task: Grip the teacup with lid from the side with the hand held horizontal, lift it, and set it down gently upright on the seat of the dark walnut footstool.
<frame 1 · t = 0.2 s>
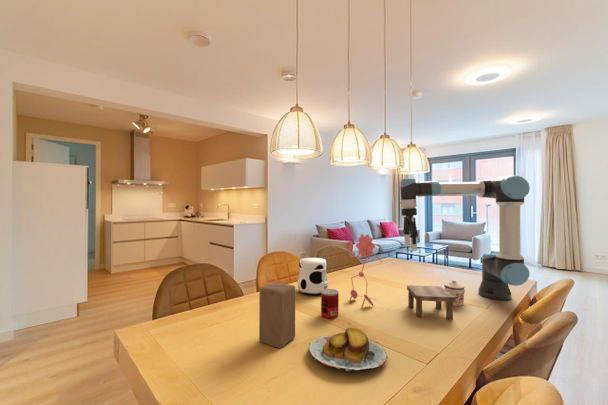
hand: (410, 248, 149), 27 cm above the table, tool pointing down, fingers open, 13 cm apart
figurine: (365, 302, 145), on the table
food on plate: (346, 357, 95), on the table
wooden block: (277, 340, 105), on the table
canned food: (329, 316, 128), on the table
walnut footstool: (429, 312, 133), on the table
milk container: (312, 292, 162), on the table
teacup with lid: (455, 303, 146), on the table
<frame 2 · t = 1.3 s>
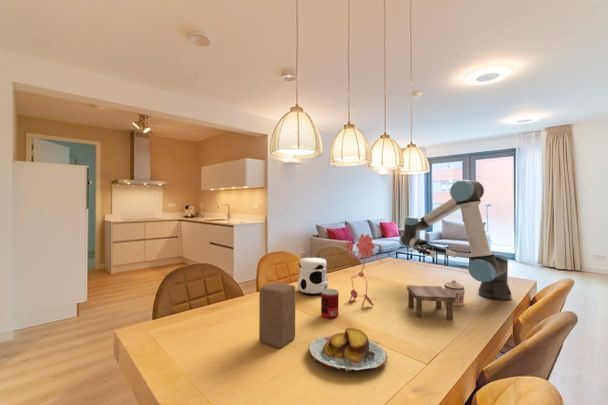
hand: (445, 255, 154), 23 cm above the table, tool horizontal, fingers open, 13 cm apart
nothing on the table moved.
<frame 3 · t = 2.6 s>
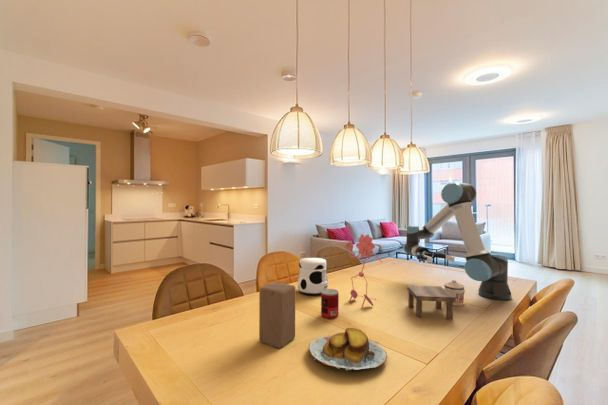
hand: (442, 259, 156), 20 cm above the table, tool horizontal, fingers open, 13 cm apart
nothing on the table moved.
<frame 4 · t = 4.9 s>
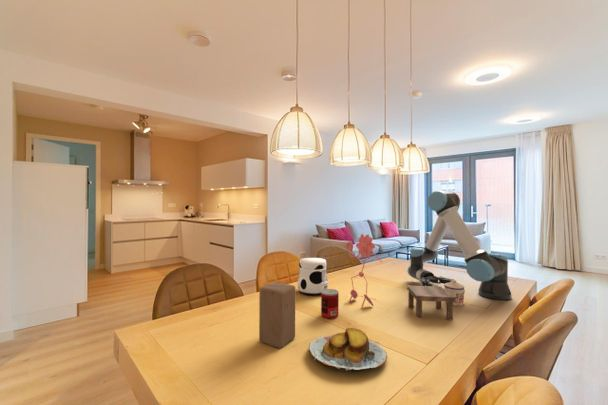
hand: (448, 287, 151), 6 cm above the table, tool horizontal, fingers open, 13 cm apart
nothing on the table moved.
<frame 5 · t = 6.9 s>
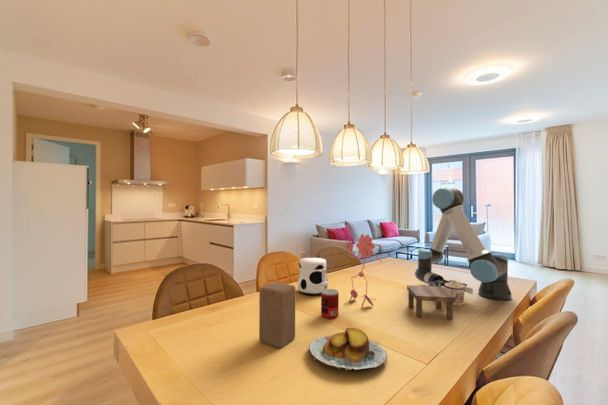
hand: (461, 292, 142), 7 cm above the table, tool horizontal, fingers closed on teacup with lid, 12 cm apart
teacup with lid: (455, 303, 146), on the table, touching gripper
everything else where it was.
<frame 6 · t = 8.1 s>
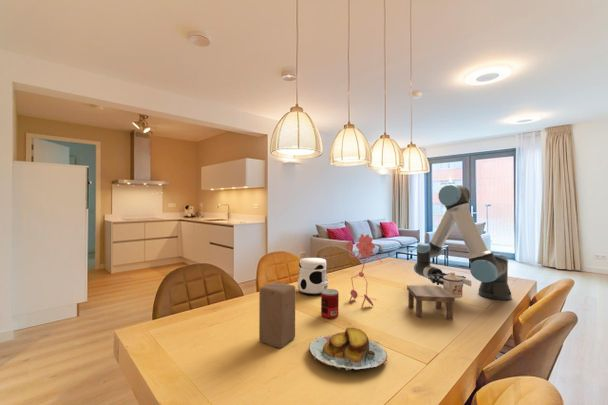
hand: (459, 284, 143), 10 cm above the table, tool horizontal, fingers closed on teacup with lid, 12 cm apart
teacup with lid: (454, 295, 146), point 4 cm above the table, touching gripper
everything else where it was.
when the fingers open (18 cm above the table, at t = 13.2 s): teacup with lid drops 1 cm, resting on walnut footstool.
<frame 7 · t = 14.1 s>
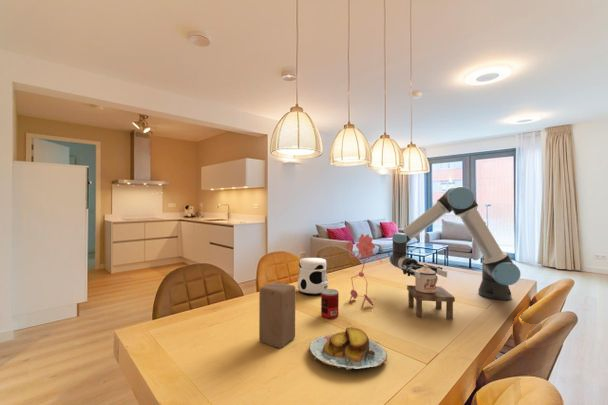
hand: (432, 275, 130), 18 cm above the table, tool horizontal, fingers open, 13 cm apart
teacup with lid: (427, 291, 133), point 10 cm above the table, touching gripper, walnut footstool
everything else where it was.
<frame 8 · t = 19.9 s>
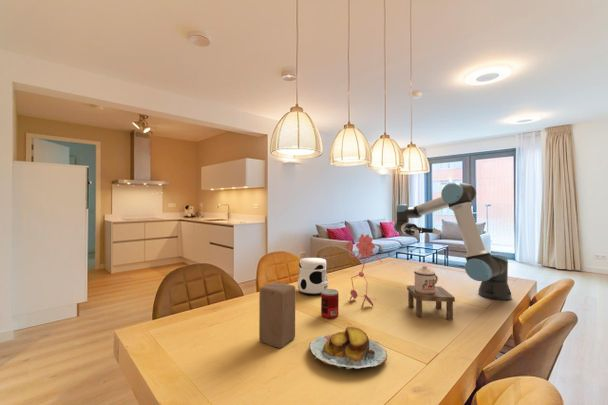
hand: (429, 232, 162), 34 cm above the table, tool horizontal, fingers open, 13 cm apart
teacup with lid: (427, 291, 133), point 10 cm above the table, touching walnut footstool
everything else where it was.
at the end: teacup with lid inside the target area on the walnut footstool (1.0 cm from its centre), point 9.8 cm above the walnut footstool's base; teacup with lid tilted 0°; the gripper is holding nothing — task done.
